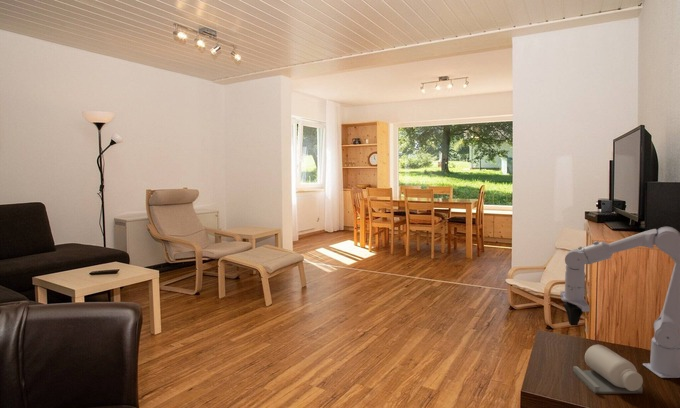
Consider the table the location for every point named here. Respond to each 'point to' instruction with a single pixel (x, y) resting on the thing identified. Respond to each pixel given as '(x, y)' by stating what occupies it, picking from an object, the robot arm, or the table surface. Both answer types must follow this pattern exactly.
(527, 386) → the table surface
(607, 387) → the grey tray
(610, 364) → the pill bottle
